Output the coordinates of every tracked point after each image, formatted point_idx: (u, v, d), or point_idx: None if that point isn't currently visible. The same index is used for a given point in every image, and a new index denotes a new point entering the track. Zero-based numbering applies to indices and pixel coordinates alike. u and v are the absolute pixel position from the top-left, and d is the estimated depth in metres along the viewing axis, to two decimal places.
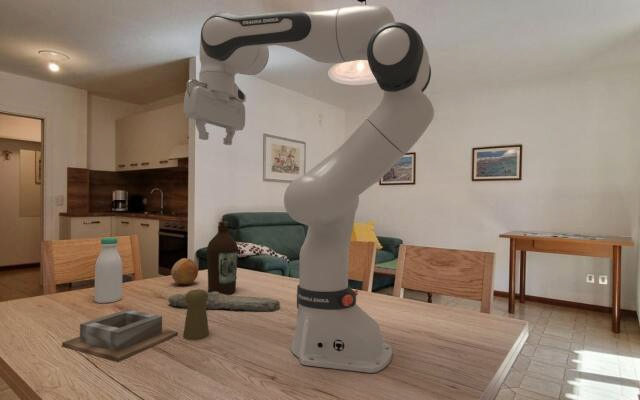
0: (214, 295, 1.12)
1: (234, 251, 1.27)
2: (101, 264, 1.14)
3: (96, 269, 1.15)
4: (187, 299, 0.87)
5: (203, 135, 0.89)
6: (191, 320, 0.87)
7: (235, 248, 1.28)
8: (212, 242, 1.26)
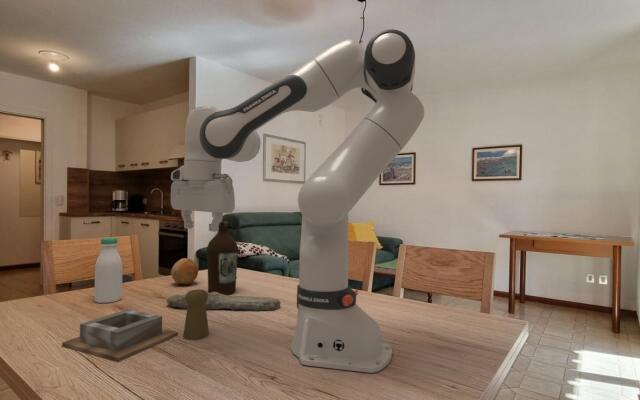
0: (214, 295, 1.12)
1: (235, 251, 1.27)
2: (101, 264, 1.14)
3: (96, 269, 1.15)
4: (187, 299, 0.87)
5: (217, 227, 0.88)
6: (191, 320, 0.87)
7: (235, 248, 1.28)
8: (212, 242, 1.26)
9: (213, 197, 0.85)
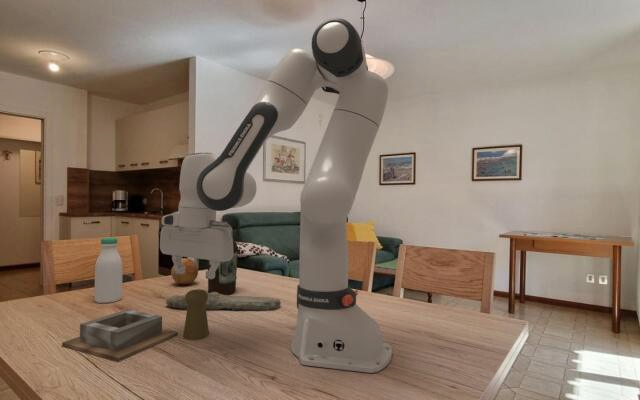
0: (214, 295, 1.12)
1: (234, 251, 1.27)
2: (101, 264, 1.14)
3: (96, 269, 1.15)
4: (187, 299, 0.87)
5: (214, 274, 0.88)
6: (191, 320, 0.87)
7: (235, 248, 1.28)
8: None
9: (212, 245, 0.85)
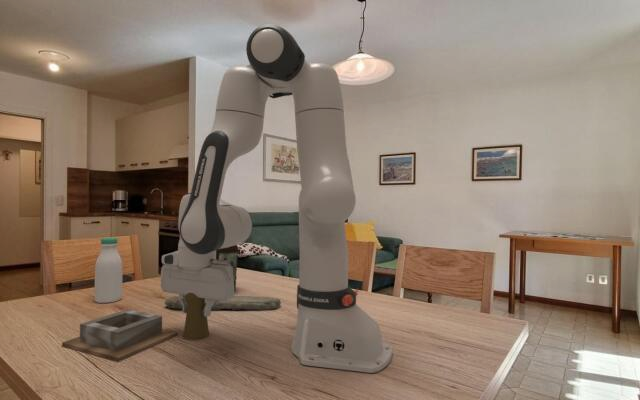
0: None
1: (234, 251, 1.27)
2: (101, 264, 1.14)
3: (96, 269, 1.15)
4: (187, 299, 0.87)
5: (209, 312, 0.88)
6: (191, 320, 0.87)
7: (235, 248, 1.28)
8: None
9: (213, 285, 0.85)
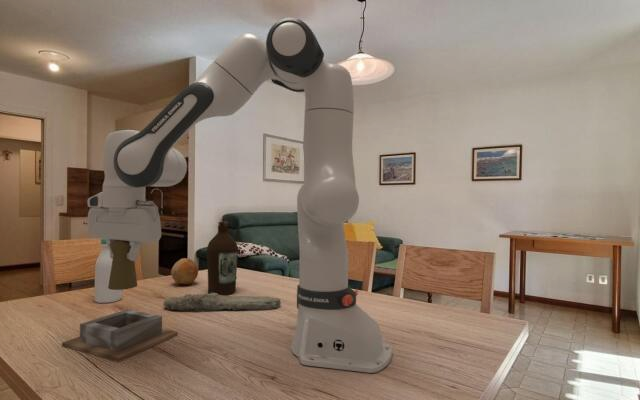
0: (214, 296, 1.11)
1: (234, 251, 1.27)
2: (101, 264, 1.14)
3: (96, 269, 1.15)
4: (111, 247, 0.83)
5: (136, 256, 0.84)
6: (115, 269, 0.83)
7: (235, 248, 1.28)
8: (212, 242, 1.26)
9: (137, 226, 0.81)
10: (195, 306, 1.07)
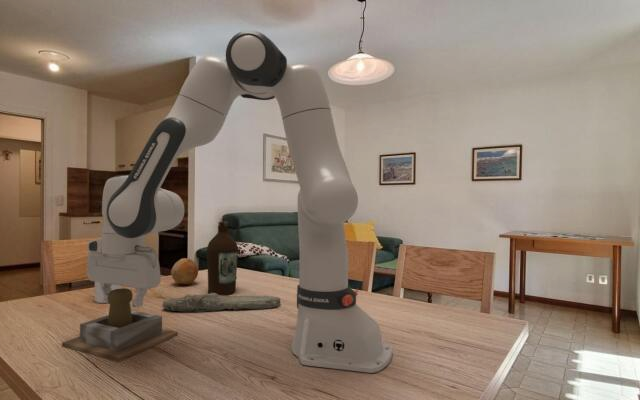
0: (214, 296, 1.10)
1: (235, 251, 1.27)
2: None
3: None
4: (108, 298, 0.84)
5: (141, 302, 0.84)
6: (111, 320, 0.83)
7: (235, 248, 1.28)
8: (212, 242, 1.26)
9: (136, 272, 0.81)
10: (196, 307, 1.07)
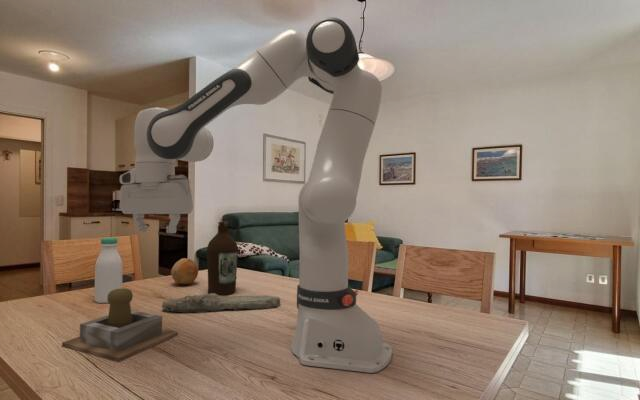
0: (214, 297, 1.10)
1: (234, 251, 1.27)
2: (101, 264, 1.14)
3: (96, 269, 1.15)
4: (108, 298, 0.84)
5: (175, 229, 0.88)
6: (111, 320, 0.83)
7: (235, 248, 1.28)
8: (212, 242, 1.26)
9: (170, 199, 0.85)
10: (196, 307, 1.06)
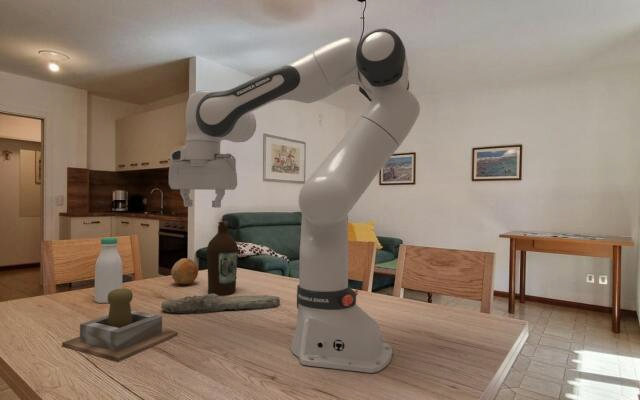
0: (214, 297, 1.10)
1: (234, 251, 1.27)
2: (101, 264, 1.14)
3: (96, 269, 1.15)
4: (108, 298, 0.84)
5: (220, 204, 0.95)
6: (111, 320, 0.83)
7: (235, 248, 1.28)
8: (212, 242, 1.26)
9: (217, 175, 0.92)
10: (197, 308, 1.06)
